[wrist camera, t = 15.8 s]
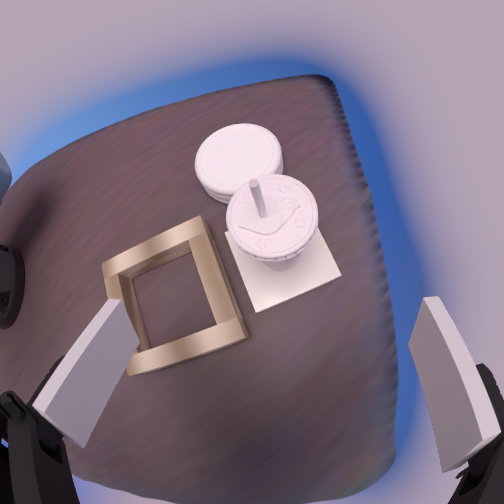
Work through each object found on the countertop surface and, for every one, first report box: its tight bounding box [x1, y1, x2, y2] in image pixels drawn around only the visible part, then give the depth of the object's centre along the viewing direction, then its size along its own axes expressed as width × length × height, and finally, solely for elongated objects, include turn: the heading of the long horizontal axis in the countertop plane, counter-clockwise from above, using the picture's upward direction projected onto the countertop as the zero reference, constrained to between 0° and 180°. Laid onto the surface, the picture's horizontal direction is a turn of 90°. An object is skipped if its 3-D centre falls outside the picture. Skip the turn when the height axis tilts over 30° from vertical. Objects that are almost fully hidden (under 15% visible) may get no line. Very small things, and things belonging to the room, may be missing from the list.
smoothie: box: [226, 174, 318, 272], centre depth 21 cm, size 6×6×14 cm
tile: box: [225, 227, 341, 314], centre depth 29 cm, size 9×9×1 cm
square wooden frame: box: [102, 215, 251, 376], centre depth 28 cm, size 13×13×3 cm
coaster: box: [195, 124, 283, 204], centre depth 32 cm, size 10×10×4 cm
